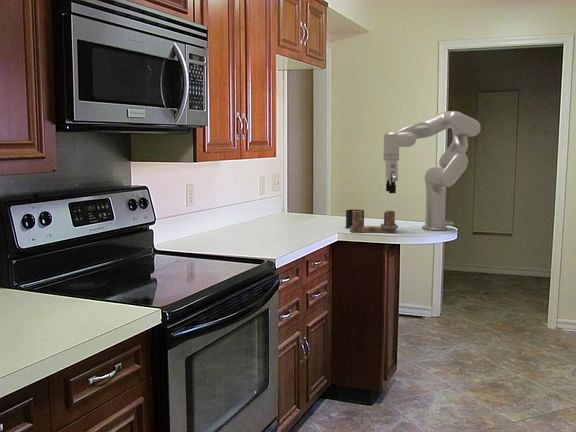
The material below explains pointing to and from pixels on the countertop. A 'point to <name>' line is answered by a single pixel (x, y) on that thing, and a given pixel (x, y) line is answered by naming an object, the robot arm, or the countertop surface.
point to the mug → (351, 217)
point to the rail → (359, 228)
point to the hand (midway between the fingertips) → (390, 192)
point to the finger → (389, 218)
